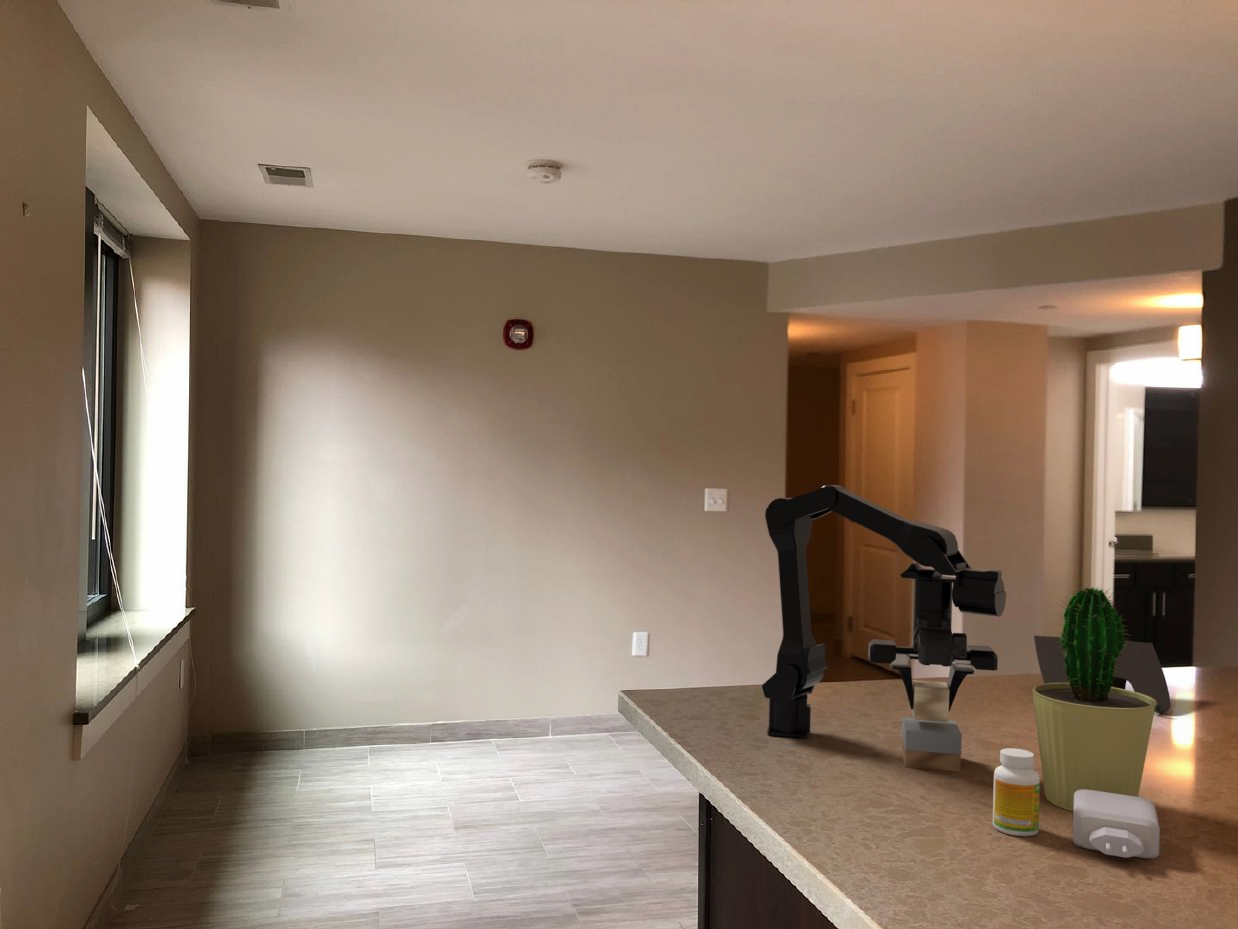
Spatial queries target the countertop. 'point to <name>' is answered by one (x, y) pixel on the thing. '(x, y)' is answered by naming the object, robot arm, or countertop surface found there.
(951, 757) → the walnut block
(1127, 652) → the portable electronic device stand
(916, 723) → the slate block
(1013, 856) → the countertop surface
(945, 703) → the birch cube
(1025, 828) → the supplement bottle
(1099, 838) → the charger
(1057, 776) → the potted cactus
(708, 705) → the countertop surface
